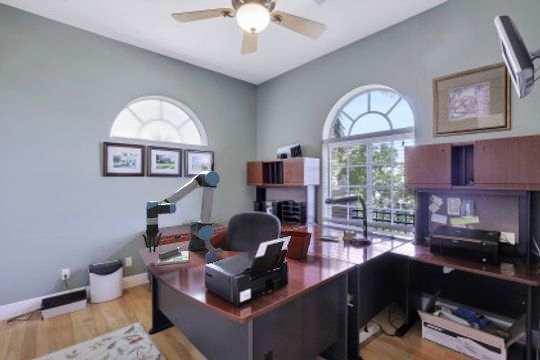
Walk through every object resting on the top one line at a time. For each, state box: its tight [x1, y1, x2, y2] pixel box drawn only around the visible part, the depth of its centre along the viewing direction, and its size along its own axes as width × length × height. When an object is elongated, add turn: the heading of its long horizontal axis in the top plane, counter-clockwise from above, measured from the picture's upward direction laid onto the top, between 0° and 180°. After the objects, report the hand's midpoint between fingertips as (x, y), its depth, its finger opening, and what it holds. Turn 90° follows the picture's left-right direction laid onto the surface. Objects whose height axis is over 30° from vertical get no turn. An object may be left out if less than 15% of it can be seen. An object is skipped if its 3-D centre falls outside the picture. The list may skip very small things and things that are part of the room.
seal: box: [204, 233, 223, 264], centre depth 175 cm, size 8×12×20 cm
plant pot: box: [279, 230, 313, 260], centre depth 193 cm, size 19×19×17 cm
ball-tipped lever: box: [158, 246, 182, 260], centre depth 185 cm, size 19×4×4 cm, turn 153°
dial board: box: [156, 250, 190, 266], centre depth 185 cm, size 20×22×2 cm
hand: (152, 257), depth 177 cm, fingers closed
